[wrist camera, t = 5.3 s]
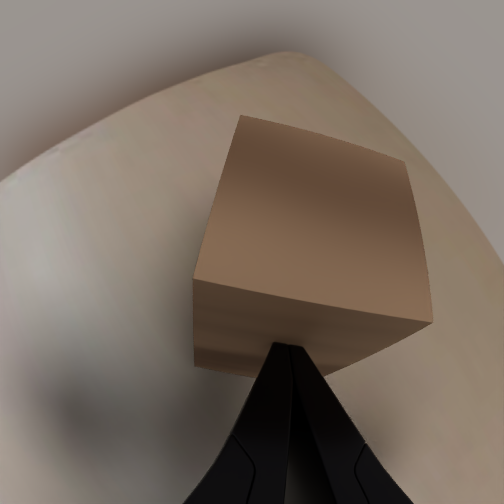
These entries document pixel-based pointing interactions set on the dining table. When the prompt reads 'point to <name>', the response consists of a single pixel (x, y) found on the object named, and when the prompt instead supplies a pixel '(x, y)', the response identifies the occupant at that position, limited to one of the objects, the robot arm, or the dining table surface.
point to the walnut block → (307, 253)
